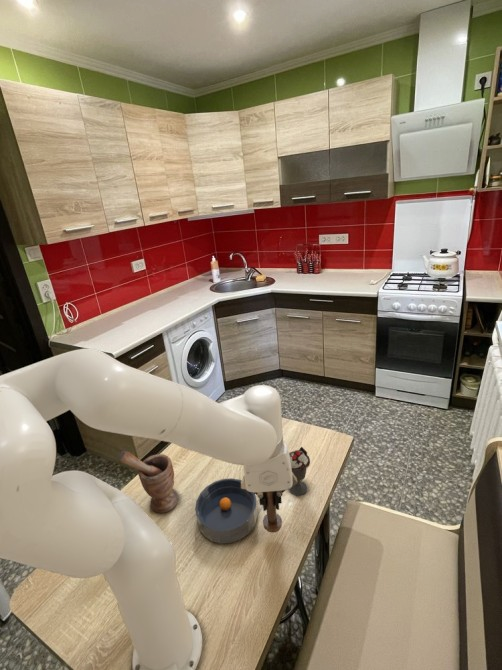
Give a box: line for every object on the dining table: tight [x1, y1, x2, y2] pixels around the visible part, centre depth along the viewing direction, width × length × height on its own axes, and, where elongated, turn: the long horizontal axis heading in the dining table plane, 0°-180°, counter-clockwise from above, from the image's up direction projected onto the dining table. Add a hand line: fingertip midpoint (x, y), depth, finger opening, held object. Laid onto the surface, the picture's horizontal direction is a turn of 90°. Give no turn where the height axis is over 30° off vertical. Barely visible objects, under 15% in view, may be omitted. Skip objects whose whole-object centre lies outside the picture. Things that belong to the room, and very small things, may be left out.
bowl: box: [194, 478, 259, 544], centre depth 87 cm, size 15×15×5 cm
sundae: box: [288, 446, 311, 496], centre depth 91 cm, size 7×7×15 cm
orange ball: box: [220, 498, 231, 510], centre depth 89 cm, size 3×3×3 cm
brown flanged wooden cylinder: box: [262, 491, 283, 534], centre depth 79 cm, size 4×4×12 cm
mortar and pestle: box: [117, 450, 179, 514], centre depth 89 cm, size 12×9×20 cm
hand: (270, 504), depth 79 cm, fingers closed on brown flanged wooden cylinder, 2 cm apart
